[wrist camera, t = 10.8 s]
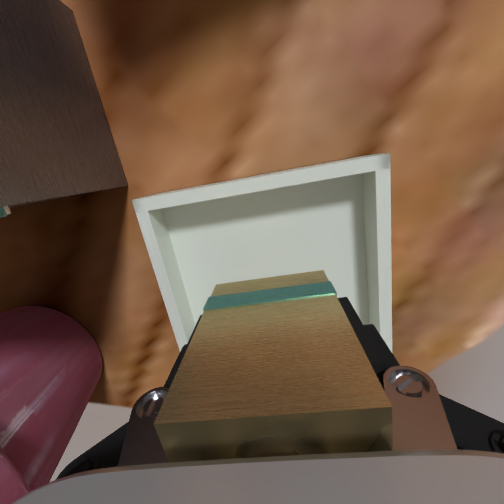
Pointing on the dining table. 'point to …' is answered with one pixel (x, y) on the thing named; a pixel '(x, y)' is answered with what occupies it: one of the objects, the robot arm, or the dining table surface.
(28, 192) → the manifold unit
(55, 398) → the plant pot
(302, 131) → the dining table surface
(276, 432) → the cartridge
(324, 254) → the tray
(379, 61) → the dining table surface
